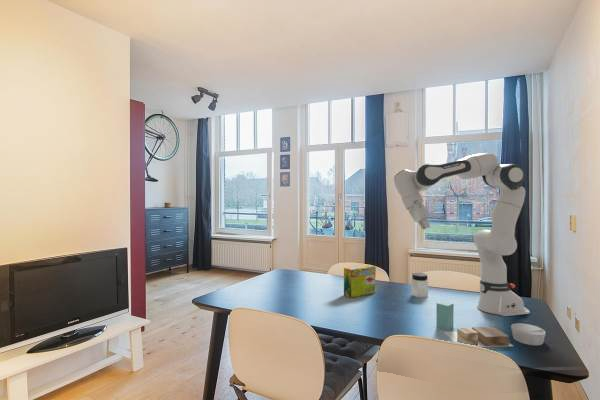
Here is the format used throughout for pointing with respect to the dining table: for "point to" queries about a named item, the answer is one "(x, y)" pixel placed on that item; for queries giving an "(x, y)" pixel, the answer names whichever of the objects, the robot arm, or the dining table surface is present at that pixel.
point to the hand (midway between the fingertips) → (426, 228)
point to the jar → (419, 285)
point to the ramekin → (528, 334)
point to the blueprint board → (454, 337)
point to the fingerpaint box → (359, 280)
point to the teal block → (445, 315)
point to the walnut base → (491, 336)
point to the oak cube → (467, 336)
